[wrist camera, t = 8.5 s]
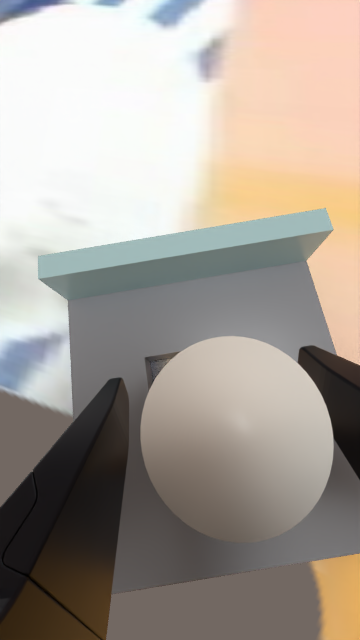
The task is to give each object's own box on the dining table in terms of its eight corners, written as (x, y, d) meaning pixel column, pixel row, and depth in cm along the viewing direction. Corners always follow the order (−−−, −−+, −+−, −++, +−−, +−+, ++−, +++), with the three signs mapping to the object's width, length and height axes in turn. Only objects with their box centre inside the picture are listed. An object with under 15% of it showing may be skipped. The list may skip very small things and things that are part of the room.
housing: (368, 523, 13) (470, 601, 8) (97, 568, 13) (43, 671, 8) (288, 259, 17) (325, 208, 12) (81, 293, 17) (37, 256, 12)
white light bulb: (227, 454, 14) (299, 586, 5) (161, 422, 15) (107, 482, 5) (251, 386, 15) (355, 379, 6) (189, 358, 16) (185, 309, 6)
